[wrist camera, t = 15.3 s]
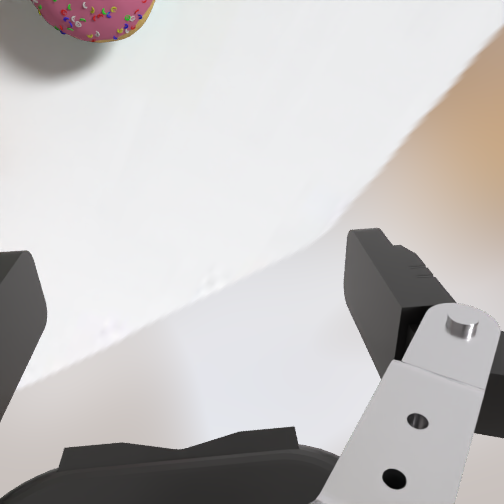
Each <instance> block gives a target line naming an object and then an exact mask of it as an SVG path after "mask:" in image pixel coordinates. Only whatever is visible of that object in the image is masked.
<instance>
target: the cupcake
mask: <svg viewBox="0 0 504 504" xmlns="http://www.w3.org/2000/svg"><path fill="white" fill-rule="evenodd" d="M31 1H32V3H33V4H34V5H35V6H36V7H37V9H38V12H39V14H40V15H41V14H42V16H43V17H44V19H45V20H46V21H47V22H48V23H49V24H50V25H52V26H53V27H55V29H57V30H60V32H61V33H62V34H68V35H71V36H73V37H75V38H77V39H80V40H84V41H90V42H98V43H103V42H111V41H117V40H122V39H125V38H127V37H129V36H131V35H132V34H134V33H135V32H136V31H137V30H139V29H140V28H141V27H142V25H143V24H144V23H145V21H146V20H147V18H148V16H149V14H150V12H151V10H152V8H153V5H154V2H155V0H31Z"/></svg>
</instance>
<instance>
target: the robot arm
mask: <svg viewBox="0 0 504 504" xmlns="http://www.w3.org/2000/svg"><path fill="white" fill-rule="evenodd" d="M344 295H345V300H346V304H347V306H348V308H349V311H350V313H351V315H352V317H353V319H354V321H355V324H356V326H357V328H358V330H359V332H360V334H361V337H362V339H363V341H364V343H365V345H366V347H367V349H368V352H369V354H370V356H371V358H372V360H373V362H374V365H375V367H376V369H377V371H378V373H379V375H380V378H381V381H380V383H379V385H378V387H377V389H376V391H375V393H374V394H373V396H372V398H371V400H370V402H369V404H368V406H367V407H366V410H365V411H364V413H363V415H362V417H361V419H360V420H359V422H358V424H357V426H356V428H355V430H354V432H353V433H352V435H351V437H350V439H349V441H348V443H347V445H346V446H345V448H344V450H343V452H342V454H341V456H340V457H339V456H337V455H335V454H333V453H330V452H328V451H324V450H322V449H319V448H314V447H310V446H306V445H299V444H298V441H297V436H296V431H295V427H285V428H274V429H263V430H253V431H243V432H242V431H241V432H237V433H234V434H230V435H227V436H225V437H221V438H218V439H214V440H211V441H208V442H205V443H202V444H199V445H195V446H192V447H189V448H185V449H179V450H177V449H168V448H160V447H152V446H145V445H138V444H130V443H112V444H102V445H91V446H79V447H69V448H65V449H64V451H63V455H62V458H61V461H60V465H59V468H57V469H53V470H50V471H48V472H45V473H43V474H41V475H38V476H36V477H34V478H32V479H30V480H28V481H26V482H24V483H23V484H21V485H19V486H18V487H16V488H15V489H13V490H11V491H10V492H8V493H7V494H6V495H4V496H3V497H2V498H0V504H455V500H456V496H457V493H458V489H459V486H460V482H461V478H462V474H463V471H464V467H465V463H466V460H467V456H468V452H469V449H470V444H471V441H472V437H473V433H477V434H482V435H488V436H494V437H500V438H504V332H503V331H501V330H500V326H499V324H498V323H497V321H496V320H495V319H494V318H493V317H492V316H490V315H489V314H487V313H486V312H484V311H482V310H480V309H478V308H475V307H472V306H469V305H465V304H459V303H456V302H455V300H454V299H453V298H452V297H451V296H450V294H449V293H448V292H447V291H446V290H445V288H444V287H443V286H442V285H441V284H440V282H439V281H438V280H437V279H436V277H433V274H432V273H431V271H430V270H429V269H428V268H426V266H425V264H424V263H423V262H422V260H421V259H420V258H419V257H418V256H417V255H416V254H415V253H413V252H412V251H410V250H408V249H407V248H405V247H403V246H401V245H394V246H393V245H392V244H391V242H390V241H389V240H388V239H387V237H386V236H385V235H384V233H383V232H382V231H381V229H379V228H373V229H372V228H371V229H357V230H350V231H349V233H348V236H347V246H346V260H345V272H344ZM46 321H47V307H46V302H45V298H44V295H43V291H42V288H41V284H40V281H39V277H38V274H37V270H36V266H35V263H34V260H33V257H32V255H31V253H30V252H29V251H11V252H0V421H1V419H2V417H3V415H4V413H5V411H6V409H7V406H8V404H9V402H10V400H11V398H12V396H13V394H14V392H15V390H16V387H17V385H18V383H19V381H20V379H21V377H22V375H23V373H24V371H25V369H26V366H27V364H28V362H29V360H30V358H31V356H32V354H33V352H34V350H35V347H36V345H37V343H38V341H39V339H40V337H41V335H42V333H43V331H44V328H45V326H46Z"/></svg>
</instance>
